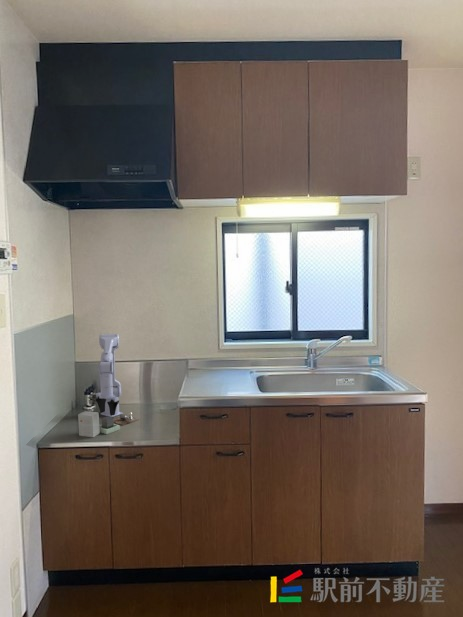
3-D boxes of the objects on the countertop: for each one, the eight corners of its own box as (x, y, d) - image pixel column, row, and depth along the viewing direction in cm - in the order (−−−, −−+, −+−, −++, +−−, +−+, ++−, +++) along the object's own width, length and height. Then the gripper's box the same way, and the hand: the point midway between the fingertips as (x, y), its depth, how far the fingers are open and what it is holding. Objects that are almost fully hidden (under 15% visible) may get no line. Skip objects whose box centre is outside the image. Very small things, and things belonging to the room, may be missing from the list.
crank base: (108, 421, 263) (108, 419, 263) (124, 416, 271) (124, 413, 271) (122, 425, 256) (122, 423, 256) (138, 419, 265) (138, 417, 265)
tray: (95, 431, 248) (95, 426, 248) (109, 426, 255) (109, 422, 254) (106, 434, 243) (106, 430, 243) (119, 429, 250) (119, 425, 249)
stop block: (101, 430, 248) (101, 418, 248) (108, 427, 252) (108, 416, 251) (107, 431, 246) (106, 419, 245) (113, 429, 249) (113, 417, 249)
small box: (100, 433, 245) (99, 412, 244) (93, 437, 239) (92, 415, 238) (85, 432, 247) (84, 410, 246) (78, 435, 242) (77, 414, 241)
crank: (118, 418, 263) (118, 410, 263) (123, 416, 266) (123, 409, 266) (129, 421, 258) (129, 413, 258) (135, 419, 261) (135, 412, 260)
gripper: (90, 385, 248) (91, 413, 250) (109, 390, 239) (110, 418, 241) (102, 382, 254) (103, 409, 255) (121, 387, 245) (122, 414, 246)
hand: (107, 413), depth 248 cm, fingers open, 7 cm apart
